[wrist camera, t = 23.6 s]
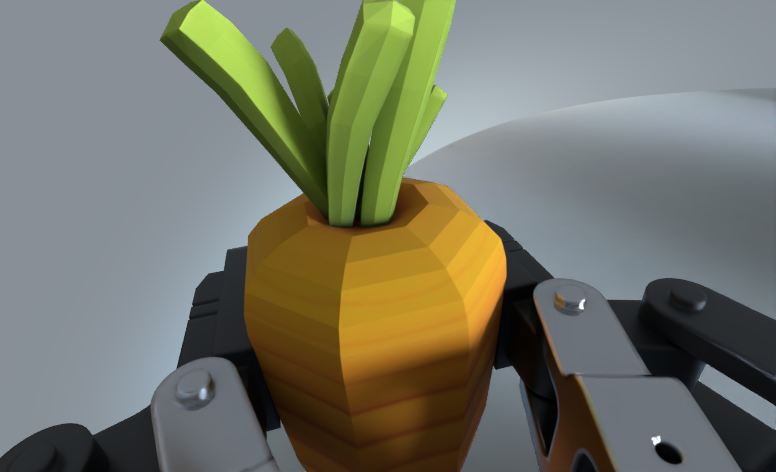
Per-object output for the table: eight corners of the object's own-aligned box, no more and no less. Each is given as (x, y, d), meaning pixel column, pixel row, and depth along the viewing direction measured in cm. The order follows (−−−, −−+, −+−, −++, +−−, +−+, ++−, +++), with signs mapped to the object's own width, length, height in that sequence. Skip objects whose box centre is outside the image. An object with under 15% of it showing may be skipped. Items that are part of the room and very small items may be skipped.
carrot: (300, 613, 11) (-22, -52, 3) (341, 441, 15) (239, -32, 8) (484, 641, 10) (616, -124, 3) (475, 454, 15) (515, -57, 7)
